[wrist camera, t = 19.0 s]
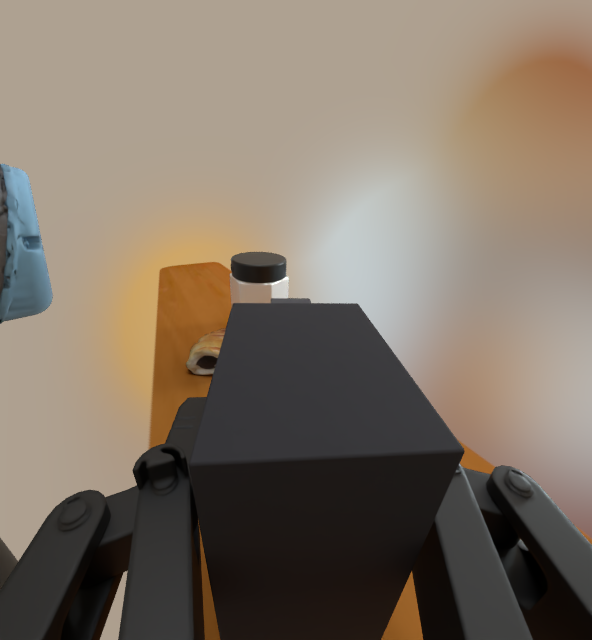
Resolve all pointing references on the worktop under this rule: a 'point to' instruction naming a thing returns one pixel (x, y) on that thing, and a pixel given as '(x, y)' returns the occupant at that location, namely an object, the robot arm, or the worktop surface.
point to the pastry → (205, 353)
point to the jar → (258, 277)
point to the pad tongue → (314, 474)
